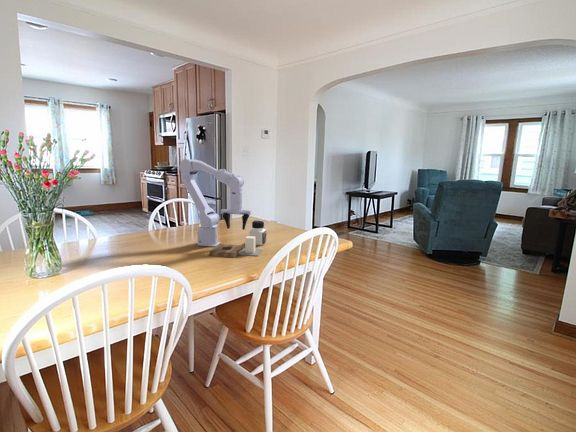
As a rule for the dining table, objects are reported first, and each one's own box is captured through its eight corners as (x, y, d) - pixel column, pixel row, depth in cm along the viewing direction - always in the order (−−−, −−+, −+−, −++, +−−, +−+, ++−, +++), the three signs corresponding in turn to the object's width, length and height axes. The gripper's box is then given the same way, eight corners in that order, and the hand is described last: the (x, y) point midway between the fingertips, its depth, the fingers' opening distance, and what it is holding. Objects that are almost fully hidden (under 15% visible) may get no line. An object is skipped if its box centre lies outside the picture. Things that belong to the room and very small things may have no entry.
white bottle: (262, 245, 160) (262, 222, 158) (249, 244, 162) (249, 221, 159) (266, 242, 167) (266, 220, 165) (253, 241, 168) (253, 219, 166)
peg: (245, 252, 147) (245, 238, 145) (247, 250, 151) (247, 235, 149) (253, 253, 146) (253, 238, 145) (255, 250, 150) (255, 236, 149)
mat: (238, 254, 145) (238, 253, 145) (243, 249, 154) (243, 248, 153) (257, 256, 144) (257, 255, 144) (261, 250, 153) (261, 249, 152)
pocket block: (209, 255, 143) (209, 251, 142) (218, 247, 155) (218, 243, 154) (235, 257, 141) (235, 252, 141) (242, 249, 153) (242, 245, 153)
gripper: (218, 201, 149) (219, 229, 152) (248, 203, 147) (248, 231, 150) (223, 199, 156) (223, 226, 159) (252, 201, 154) (252, 228, 157)
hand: (236, 228), depth 155 cm, fingers open, 7 cm apart
